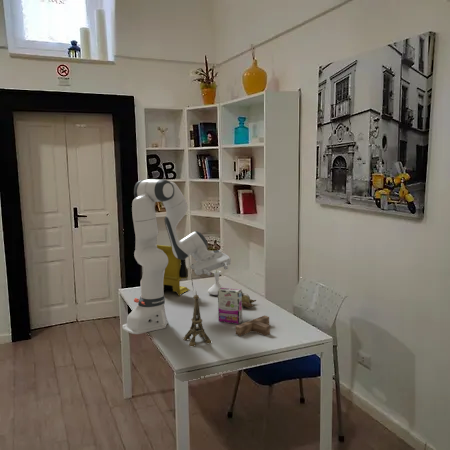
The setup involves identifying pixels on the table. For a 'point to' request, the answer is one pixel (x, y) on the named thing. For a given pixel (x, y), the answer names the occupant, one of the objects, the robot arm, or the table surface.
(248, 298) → the ceramic sculpture
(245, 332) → the walnut T stop
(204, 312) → the table surface
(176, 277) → the vintage telephone
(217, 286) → the flower in vase
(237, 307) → the candy bar box
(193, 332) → the eiffel tower
